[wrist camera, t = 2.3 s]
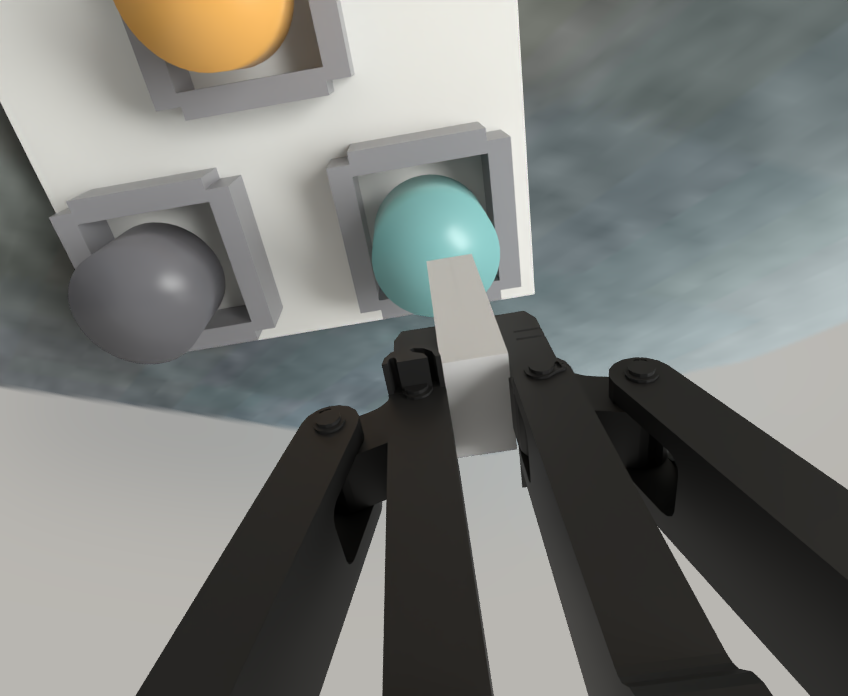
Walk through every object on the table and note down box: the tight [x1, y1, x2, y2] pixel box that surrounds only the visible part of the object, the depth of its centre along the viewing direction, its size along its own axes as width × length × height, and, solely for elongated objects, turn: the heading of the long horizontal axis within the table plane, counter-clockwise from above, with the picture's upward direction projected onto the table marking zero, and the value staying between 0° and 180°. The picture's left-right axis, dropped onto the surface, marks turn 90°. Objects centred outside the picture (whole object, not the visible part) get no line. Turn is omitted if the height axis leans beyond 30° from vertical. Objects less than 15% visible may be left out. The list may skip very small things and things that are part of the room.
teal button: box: [372, 174, 500, 317], centre depth 22 cm, size 5×5×4 cm
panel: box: [0, 0, 535, 352], centre depth 24 cm, size 22×20×4 cm
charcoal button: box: [68, 222, 225, 364], centre depth 23 cm, size 5×5×4 cm
